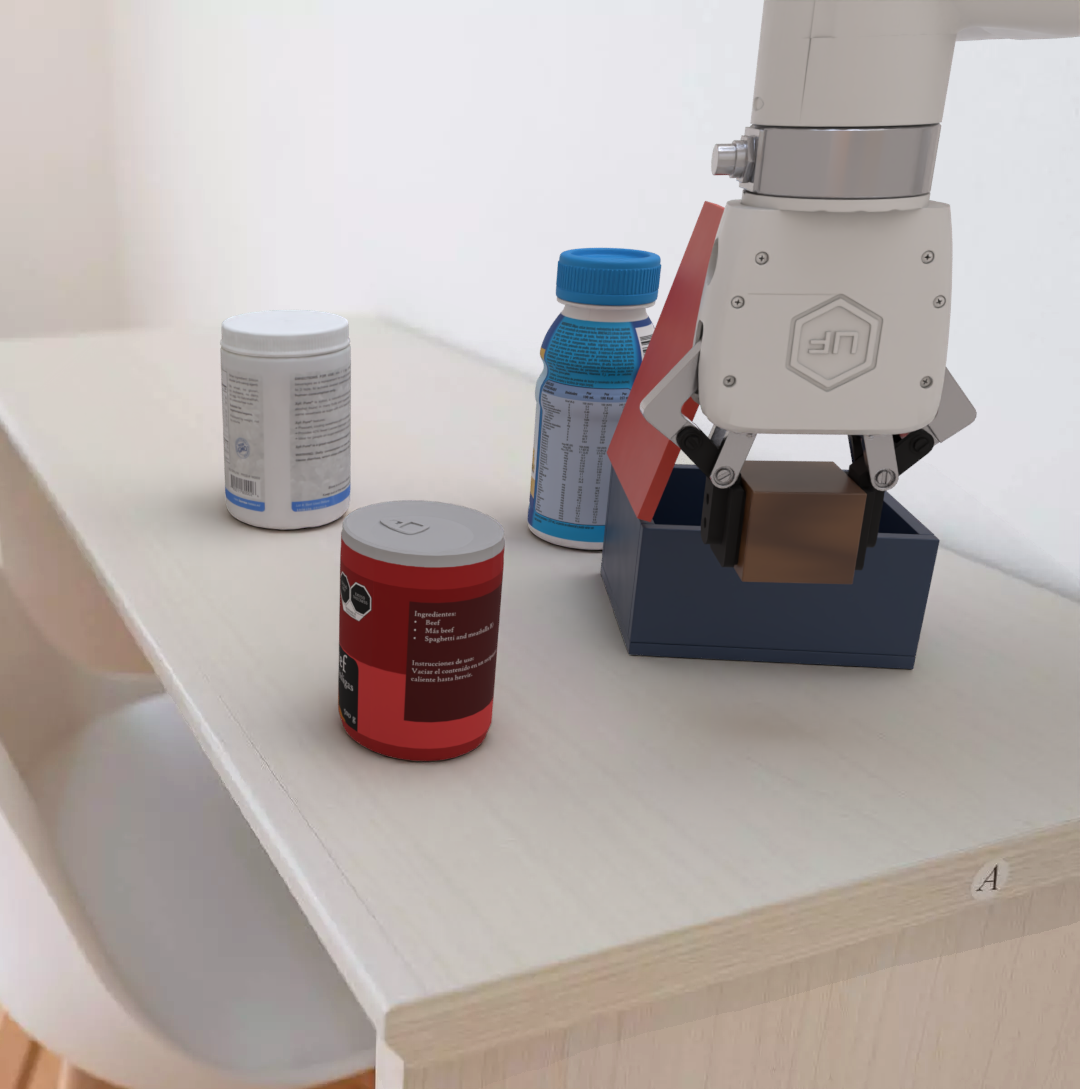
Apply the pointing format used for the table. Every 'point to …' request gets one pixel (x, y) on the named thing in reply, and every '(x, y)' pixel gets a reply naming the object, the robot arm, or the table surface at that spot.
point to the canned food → (419, 627)
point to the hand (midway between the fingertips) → (784, 555)
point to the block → (799, 523)
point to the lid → (636, 442)
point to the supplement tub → (286, 417)
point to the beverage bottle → (587, 387)
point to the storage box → (759, 590)
